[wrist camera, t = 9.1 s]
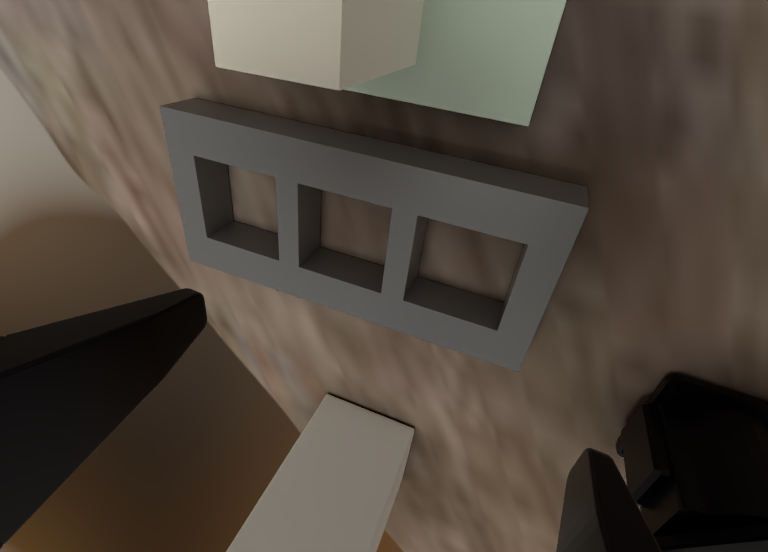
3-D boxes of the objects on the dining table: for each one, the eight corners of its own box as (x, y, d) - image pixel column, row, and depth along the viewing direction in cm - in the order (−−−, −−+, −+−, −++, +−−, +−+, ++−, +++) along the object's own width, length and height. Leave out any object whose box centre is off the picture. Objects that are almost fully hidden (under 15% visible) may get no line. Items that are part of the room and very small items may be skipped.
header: (587, 186, 17) (589, 208, 15) (522, 341, 22) (518, 372, 20) (195, 97, 22) (159, 106, 20) (216, 242, 27) (190, 260, 25)
